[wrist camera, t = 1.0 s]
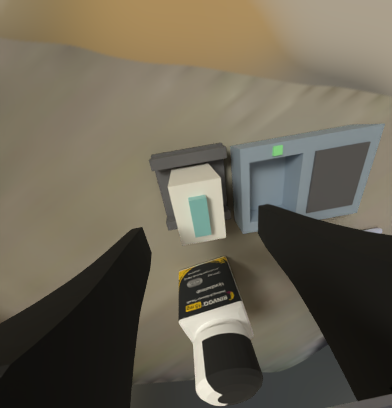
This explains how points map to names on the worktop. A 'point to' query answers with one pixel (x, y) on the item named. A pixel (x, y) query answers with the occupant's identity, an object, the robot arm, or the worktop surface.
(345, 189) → the port panel
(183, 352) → the worktop surface
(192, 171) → the plug
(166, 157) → the bracket
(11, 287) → the worktop surface
